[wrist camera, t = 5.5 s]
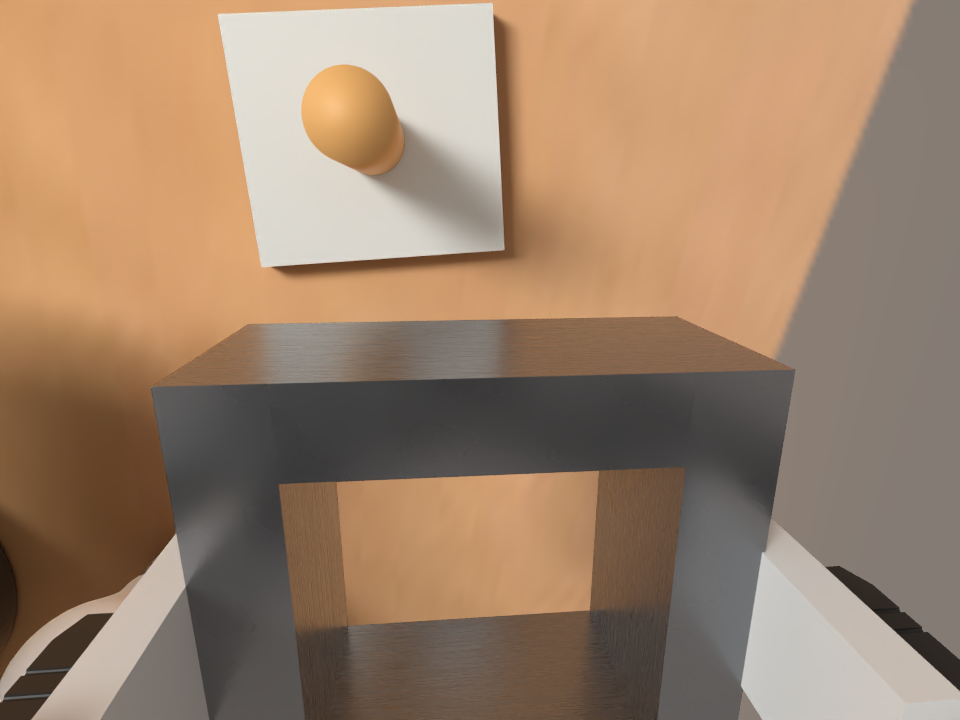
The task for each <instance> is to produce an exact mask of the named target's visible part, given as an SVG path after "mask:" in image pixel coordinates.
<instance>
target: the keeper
mask: <svg viewBox="0 0 960 720" xmlns="http://www.w3.org/2000/svg"><path fill="white" fill-rule="evenodd" d="M218 18H219V24H220V30H221V36H222V42H223V47H224V53H225V59H226V65H227V70H228V76H229V82H230V88H231V94H232V99H233V105H234V111H235V117H236V122H237V128H238V134H239V140H240V146H241V151H242V157H243V163H244V169H245V175H246V180H247V186H248V192H249V198H250V203H251V209H252V215H253V221H254V227H255V232H256V238H257V244H258V250H259V256H260V261H261V267H273V266H287V265H301V264H315V263H330V262H344V261H358V260H372V259H386V258H400V257H414V256H429V255H443V254H457V253H471V252H485V251H499V250H505V247H504V227H503V206H502V186H501V165H500V145H499V124H498V103H497V83H496V62H495V42H494V21H493V3H481V4H456V5H432V6H407V7H382V8H357V9H333V10H308V11H283V12H258V13H234V14H218Z"/></svg>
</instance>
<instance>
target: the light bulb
mask: <svg viewBox="0 0 960 720" xmlns="http://www.w3.org/2000/svg"><path fill="white" fill-rule="evenodd" d="M159 555H160V554H159ZM159 555H157V556H156V557H155V558H154V559H153V560H152V561H151V562H150V563H149V565H148V566H147V567H146V568H145V570H144V571H143V572H142V573H141V575H140V576H138V577H136V578H135V579H133V580H132V581H130V582H129V583H128V584H127V585H126V586H125V587H124V588H123V589H122V590H121V591H120V592H118V593H116V594H113V595H110V596H107V597H103V598H100V599H96V600H93V601H90V602H86V603H83V604H80V605H78V606H76V607H74V608H71V609H69V610H67V611H66V612H64V613H62V614H60V615H59V616H57V617H55V618H54V619H52V620H51V621H50V622H48V623H47V624H45V625H44V626H43V627H41V628H40V629H39V630H38V631H37V632H36V633H35V634H34V635H32V636H31V637H30V638H29V639H28V640H27V642H26V643H25V644H24V645H23V646H22V647H21V648H20V649H19V651H18V652H17V653H16V655H15V656H14V657H13V659H12V660H11V661H10V663H9V665H8V666H7V668H6V670H5V672H4V674H3V676H2V678H1V680H0V702H2V701H3V699H4V695H5V694H6V692H7V691H8V690H9V689H10V688H11V687H12V686H13V684H14V683H15V682H16V681H17V680H18V679H19V677H20V676H25V674H26V669H27V668H28V667H29V666H30V665H31V664H32V663H33V661H34V660H35V659H36V658H37V657H38V656H39V655H40V653H41V652H42V651H43V650H44V649H45V648H46V646H47V645H48V644H49V643H50V642H51V641H52V640H53V639H54V638H56V637H57V636H58V635H60V634H61V633H62V632H64V631H65V630H67V629H68V628H69V627H71V626H72V625H73V624H75V623H76V622H78V621H79V620H80V619H82V618H83V617H84V616H86V615H87V614H100V613H115V611H116V610H117V609H118V607H119V606H120V605H121V604H122V602H123V601H124V600H125V598H126V597H127V596H128V595H129V593H130V592H131V591H132V589H133V588H134V587H135V586H136V584H137V583H138V582H139V580H140V579H141V578H142V577H143V575H144V574H145V573H146V571H147V570H148V569H149V568H150V566H151V565H152V564H153V562H154V561H155V560H156V558H157V557H158V556H159Z"/></svg>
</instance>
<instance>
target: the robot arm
mask: <svg viewBox="0 0 960 720" xmlns="http://www.w3.org/2000/svg"><path fill="white" fill-rule="evenodd" d="M16 606H17V603H16V589H15V583H14V579H13V575H12V572H11V569H10V566H9V564H8V561H7V559H6V557H5V555H4V553H3V551H2V549H1V547H0V653H1V651H2V650H3V648H4V647H5V645H6V643H7V641H8V639H9V637H10V634H11V632H12V629H13V625H14V621H15V616H16ZM741 687H742V689H743V690H744V691H745V693H746V695H747V696H748V698H749V699H750V701H751V703H752V704H753V706H754V707H755V709H756V710H757V712H758V713H759V715H760V717H761V718H762V720H960V660H959V659H958V658H957V657H956V656H955V655H954V654H952V653H951V652H950V651H949V650H948V649H947V648H946V647H944V646H943V645H942V644H941V643H940V642H938V641H937V640H936V639H935V638H934V637H933V636H932V635H930V634H929V633H928V632H923V631H922V627H921V626H920V625H919V624H918V623H916V622H915V621H914V620H913V619H912V618H910V617H909V616H908V615H907V614H906V613H905V612H900V610H899V607H898V606H897V605H895V604H894V603H893V602H892V601H891V600H890V599H888V598H887V597H886V596H885V595H884V594H882V593H881V592H880V591H879V590H878V589H877V588H876V587H875V586H873V585H872V584H870V583H869V582H867V581H865V580H863V579H861V578H860V577H858V576H856V575H854V574H852V573H851V572H849V571H847V570H845V569H844V568H841V567H840V566H833V567H824V566H823V565H822V564H821V563H820V562H819V561H818V560H817V559H816V558H814V557H813V556H812V555H811V554H810V553H809V552H808V551H807V550H806V549H805V548H803V547H802V546H801V545H800V544H799V543H798V542H797V541H796V540H795V539H794V538H793V537H792V536H790V535H789V534H788V533H787V532H786V531H785V530H784V529H783V528H782V527H781V526H780V525H779V524H777V523H776V522H775V521H774V520H773V519H772V518H771V521H770V527H769V533H768V539H767V545H766V551H765V552H762V557H761V563H760V569H759V575H758V582H757V588H756V594H755V601H754V607H753V613H752V619H751V626H750V632H749V638H748V645H747V651H746V657H745V663H744V670H743V676H742V682H741ZM0 720H209V716H208V710H207V704H206V699H205V693H204V687H203V682H202V676H201V671H200V665H199V659H198V654H197V648H196V642H195V637H194V631H193V626H192V620H191V614H190V609H189V603H188V597H187V592H186V586H185V581H184V575H183V569H182V564H181V558H180V552H179V546H178V541H177V535H176V534H175V535H174V537H173V538H172V539H171V540H170V542H169V543H168V544H167V546H166V547H165V548H164V549H163V551H162V552H161V553H160V555H159V556H158V557H157V558H156V560H155V561H154V562H153V564H152V565H151V566H150V568H149V569H148V570H147V571H146V573H145V574H144V575H143V577H142V578H141V579H140V580H139V582H138V583H137V584H136V586H135V587H134V588H133V589H132V591H131V592H130V593H129V595H128V596H127V597H126V598H125V600H124V601H123V602H122V604H121V605H120V606H119V607H118V609H117V610H116V611H115V613H100V614H87V615H86V616H84V617H83V618H82V619H80V620H79V621H78V622H76V623H75V624H73V625H72V626H71V627H69V628H68V629H67V630H65V631H64V632H62V633H61V634H60V635H58V636H57V637H56V638H54V639H53V640H52V641H51V642H50V643H49V644H48V645H47V646H46V648H45V649H44V650H43V651H42V652H41V653H40V655H39V656H38V657H37V658H36V659H35V660H34V661H33V663H32V664H31V665H30V666H29V667H28V668H27V669H26V674H25V676H20V677H19V679H18V680H17V681H16V682H15V683H14V684H13V686H12V687H11V688H10V689H9V690H8V691H7V692H6V694H5V695H4V699H3V701H2V702H0Z"/></svg>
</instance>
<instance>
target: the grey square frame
mask: <svg viewBox="0 0 960 720" xmlns="http://www.w3.org/2000/svg"><path fill="white" fill-rule="evenodd" d="M794 374H795V369H793V368H791V367H788V366H786V365H784V364H782V363H779V362H777V361H775V360H773V359H771V358H768V357H766V356H764V355H762V354H759V353H757V352H755V351H753V350H750V349H748V348H746V347H744V346H742V345H739V344H737V343H735V342H733V341H730V340H728V339H726V338H724V337H721V336H719V335H717V334H715V333H712V332H710V331H708V330H706V329H704V328H701V327H699V326H697V325H695V324H692V323H690V322H688V321H686V320H683V319H681V318H679V317H677V316H675V317H620V318H564V319H509V320H453V321H398V322H342V323H287V324H248V325H246V326H245V327H243V328H241V329H240V330H238V331H237V332H235V333H234V334H232V335H231V336H229V337H227V338H226V339H224V340H223V341H221V342H220V343H218V344H217V345H215V346H213V347H212V348H210V349H209V350H207V351H206V352H204V353H203V354H201V355H200V356H198V357H196V358H195V359H193V360H192V361H190V362H189V363H187V364H186V365H184V366H182V367H181V368H179V369H178V370H176V371H175V372H173V373H172V374H170V375H169V376H167V377H165V378H164V379H162V380H161V381H159V382H158V383H156V384H155V385H153V386H151V391H152V397H153V403H154V408H155V414H156V420H157V426H158V431H159V437H160V443H161V449H162V454H163V460H164V466H165V472H166V477H167V483H168V489H169V495H170V500H171V506H172V512H173V518H174V523H175V529H176V535H177V541H178V546H179V552H180V558H181V564H182V569H183V575H184V581H185V586H186V592H187V597H188V603H189V609H190V614H191V620H192V626H193V631H194V637H195V642H196V648H197V654H198V659H199V665H200V671H201V676H202V682H203V687H204V693H205V699H206V704H207V710H208V716H209V720H738V715H739V710H740V703H741V697H742V691H743V689H742V687H741V682H742V676H743V670H744V663H745V657H746V651H747V645H748V638H749V632H750V626H751V619H752V613H753V607H754V601H755V594H756V588H757V582H758V575H759V569H760V563H761V557H762V552H765V551H766V545H767V539H768V533H769V527H770V521H771V514H772V508H773V502H774V496H775V490H776V484H777V478H778V472H779V466H780V459H781V454H782V447H783V441H784V435H785V429H786V423H787V417H788V411H789V405H790V398H791V393H792V387H793V380H794ZM578 471H599V479H598V495H597V510H596V525H595V541H594V556H593V572H592V587H591V602H590V611H574V612H559V613H543V614H527V615H512V616H496V617H481V618H465V619H449V620H434V621H418V622H402V623H387V624H371V625H356V626H348V622H347V609H346V597H345V584H344V572H343V559H342V547H341V534H340V522H339V509H338V497H337V485H336V482H341V481H364V480H388V479H412V478H436V477H459V476H483V475H507V474H531V473H555V472H578Z"/></svg>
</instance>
